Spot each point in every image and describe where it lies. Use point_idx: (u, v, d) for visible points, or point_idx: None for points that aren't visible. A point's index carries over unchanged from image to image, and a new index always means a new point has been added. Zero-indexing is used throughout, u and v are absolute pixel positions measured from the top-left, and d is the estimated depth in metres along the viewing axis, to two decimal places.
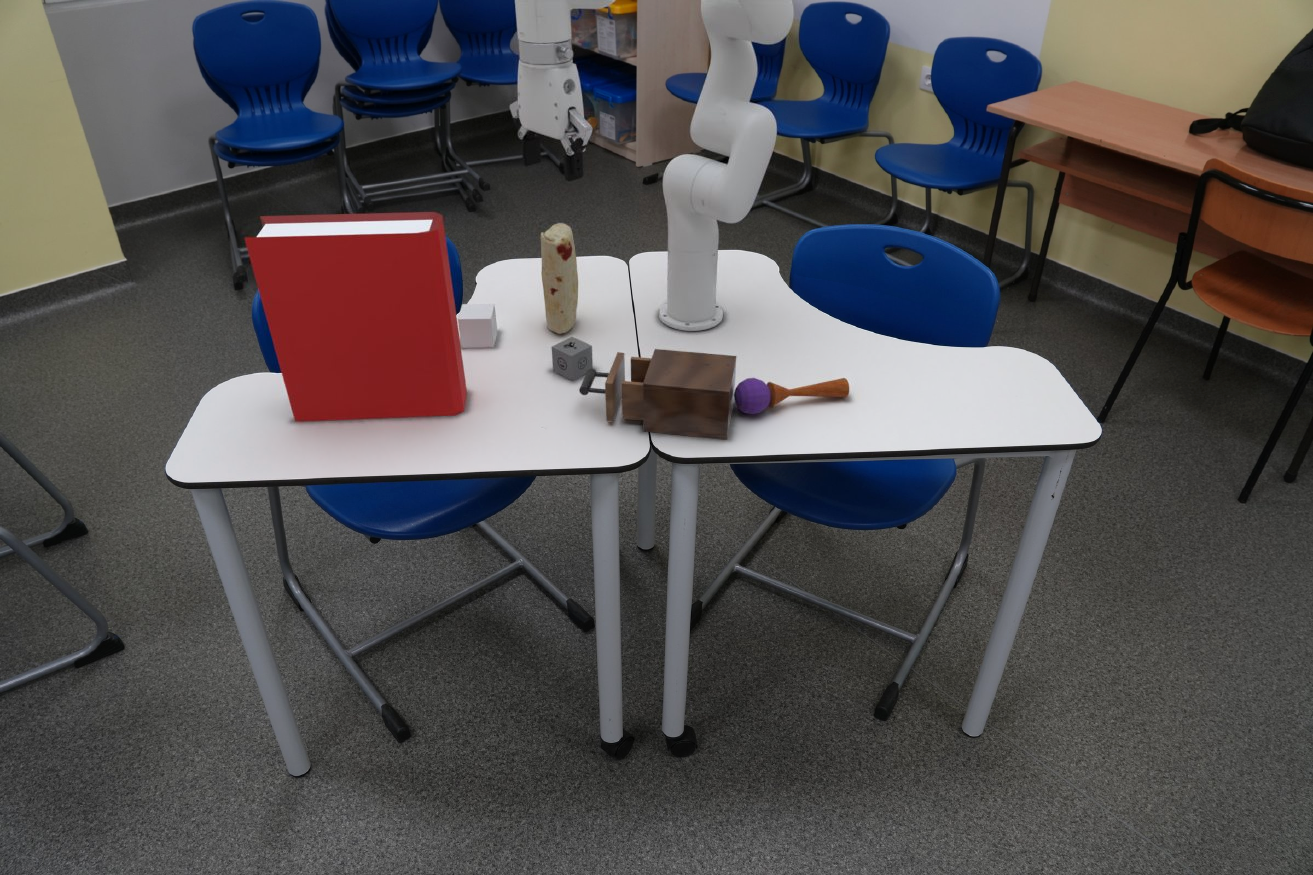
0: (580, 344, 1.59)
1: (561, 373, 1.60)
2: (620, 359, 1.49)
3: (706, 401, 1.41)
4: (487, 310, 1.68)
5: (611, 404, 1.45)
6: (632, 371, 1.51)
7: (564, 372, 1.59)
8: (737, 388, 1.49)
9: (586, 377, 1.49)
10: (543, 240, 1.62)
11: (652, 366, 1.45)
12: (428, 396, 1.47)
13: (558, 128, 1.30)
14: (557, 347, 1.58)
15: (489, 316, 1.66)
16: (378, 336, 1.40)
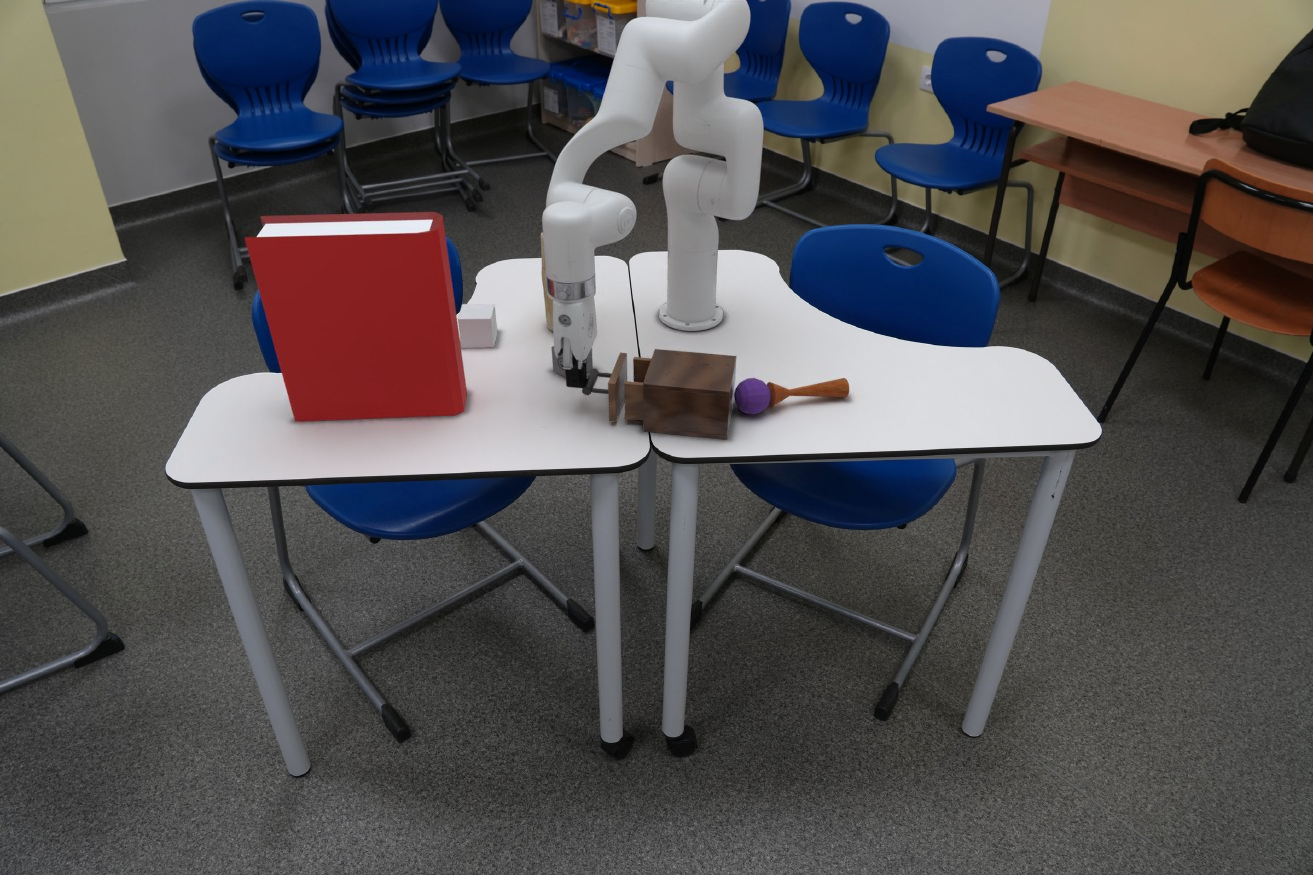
0: None
1: (561, 373, 1.60)
2: (623, 359, 1.49)
3: (706, 401, 1.41)
4: (487, 310, 1.68)
5: (614, 404, 1.45)
6: (635, 371, 1.51)
7: (564, 372, 1.59)
8: (737, 388, 1.49)
9: (589, 377, 1.49)
10: (543, 240, 1.62)
11: (652, 366, 1.45)
12: (428, 396, 1.47)
13: None
14: None
15: (489, 316, 1.66)
16: (378, 336, 1.40)
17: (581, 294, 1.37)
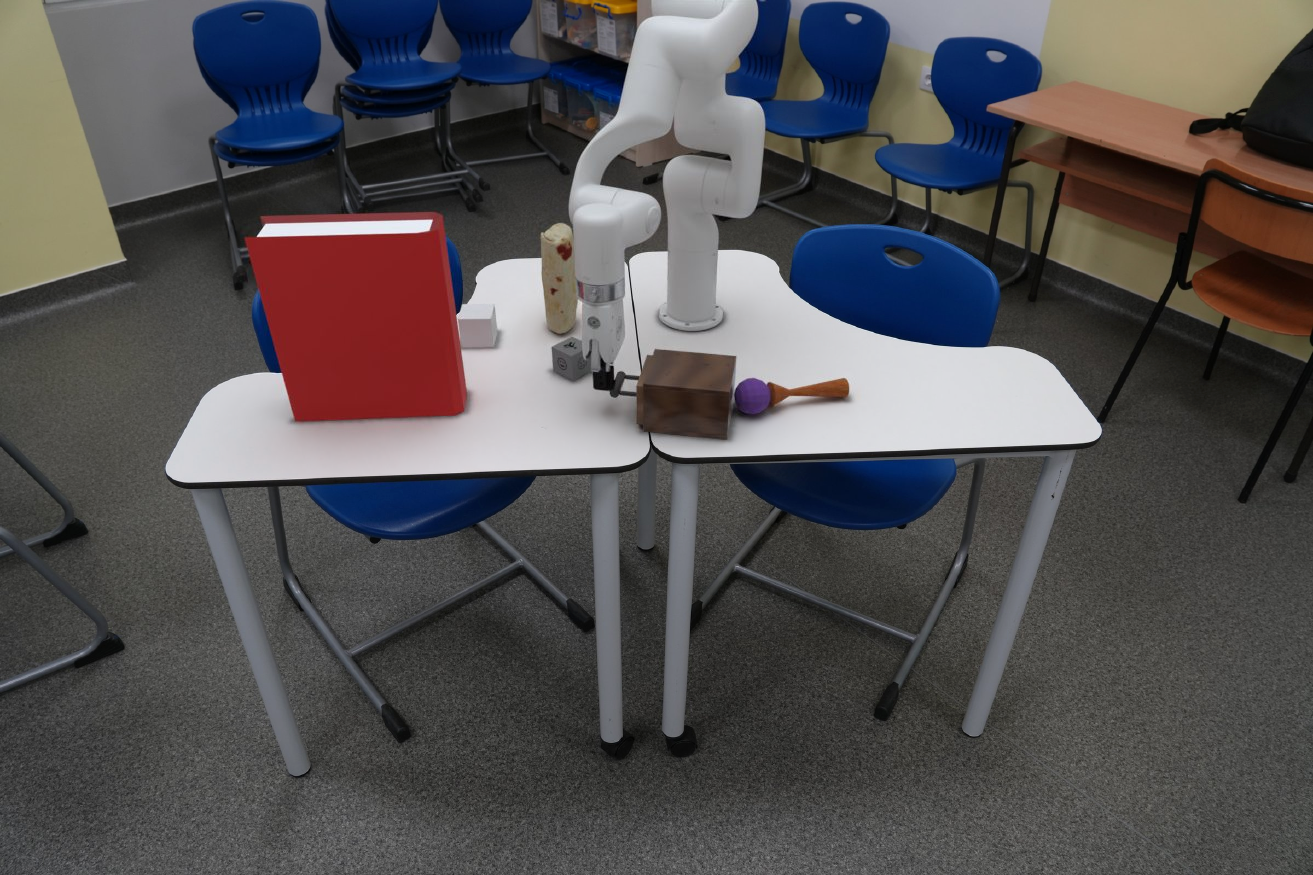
0: (580, 344, 1.59)
1: (561, 373, 1.60)
2: None
3: (706, 401, 1.41)
4: (487, 310, 1.68)
5: (642, 407, 1.44)
6: None
7: (564, 372, 1.59)
8: (737, 388, 1.49)
9: (616, 380, 1.48)
10: (543, 240, 1.62)
11: (652, 366, 1.45)
12: (428, 396, 1.47)
13: (583, 351, 1.41)
14: (557, 347, 1.58)
15: (489, 316, 1.66)
16: (378, 336, 1.40)
17: (610, 296, 1.36)
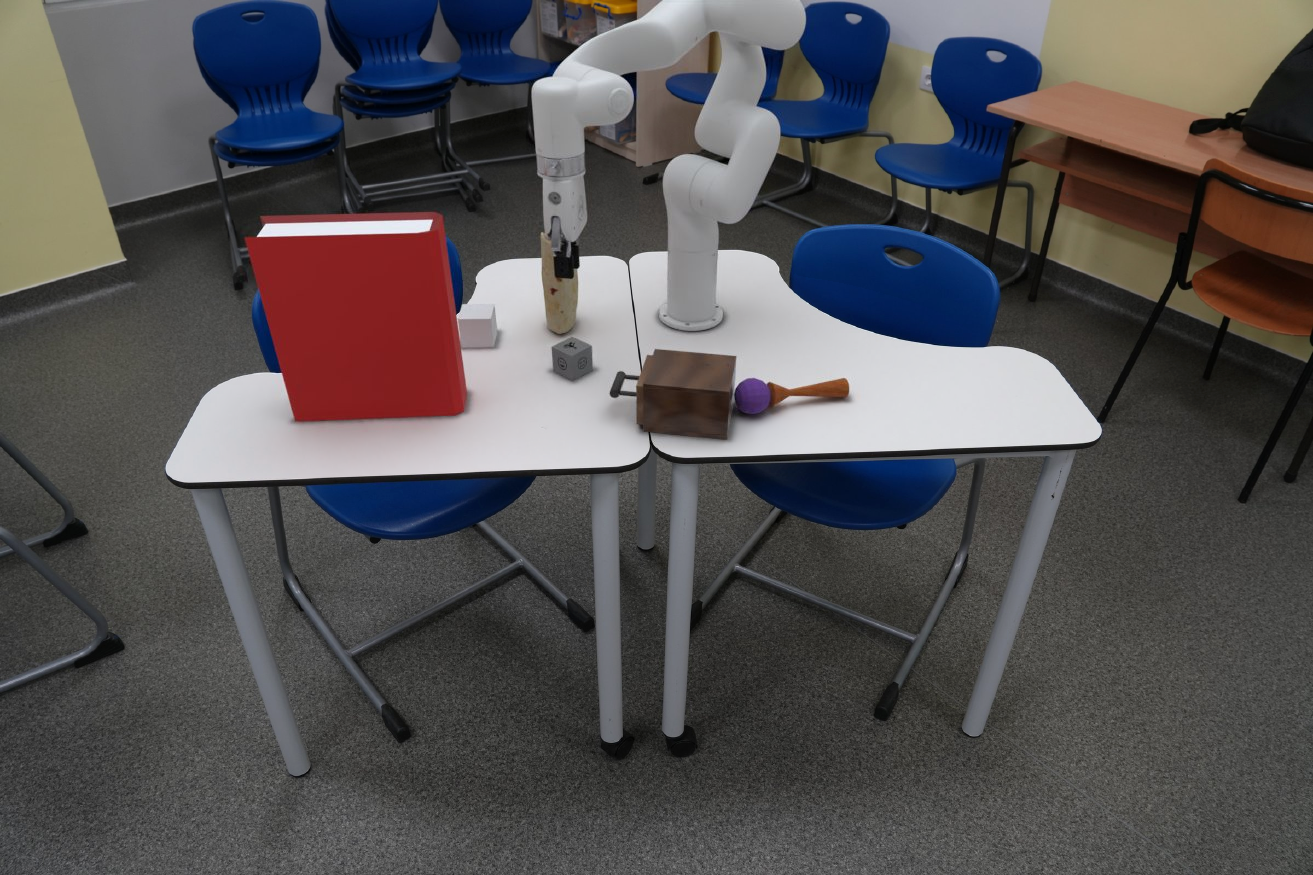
0: (580, 344, 1.59)
1: (561, 373, 1.60)
2: None
3: (706, 401, 1.41)
4: (487, 310, 1.68)
5: (642, 407, 1.44)
6: None
7: (564, 372, 1.59)
8: (737, 388, 1.49)
9: (616, 380, 1.48)
10: (543, 240, 1.62)
11: (652, 366, 1.45)
12: (428, 396, 1.47)
13: (545, 230, 1.42)
14: (557, 347, 1.58)
15: (489, 316, 1.66)
16: (378, 336, 1.40)
17: (571, 171, 1.38)
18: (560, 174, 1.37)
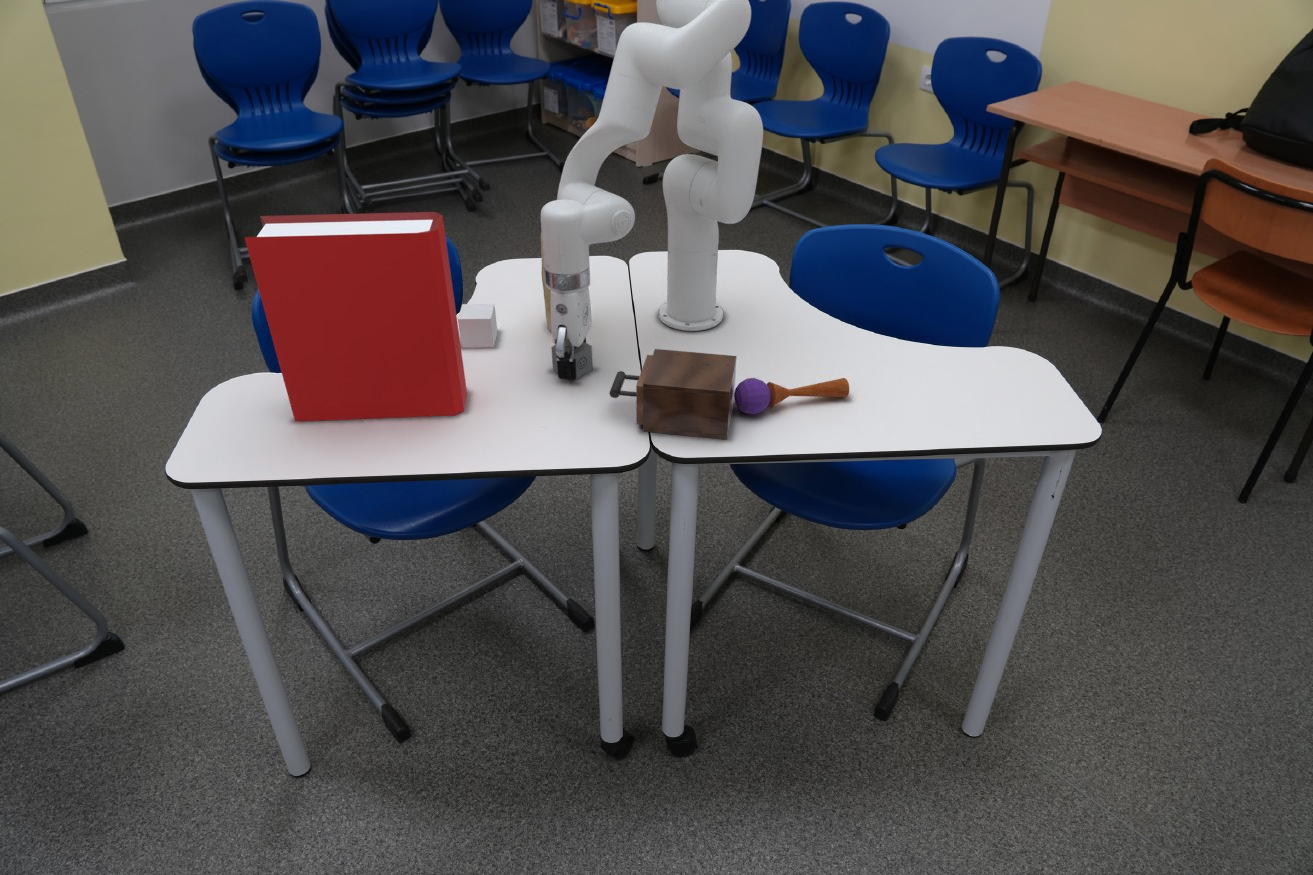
0: None
1: None
2: None
3: (706, 401, 1.41)
4: (487, 310, 1.68)
5: (642, 407, 1.44)
6: None
7: None
8: (737, 388, 1.49)
9: (616, 380, 1.48)
10: None
11: (652, 366, 1.45)
12: (428, 396, 1.47)
13: (552, 336, 1.53)
14: None
15: (489, 316, 1.66)
16: (378, 336, 1.40)
17: (576, 285, 1.48)
18: (567, 288, 1.48)
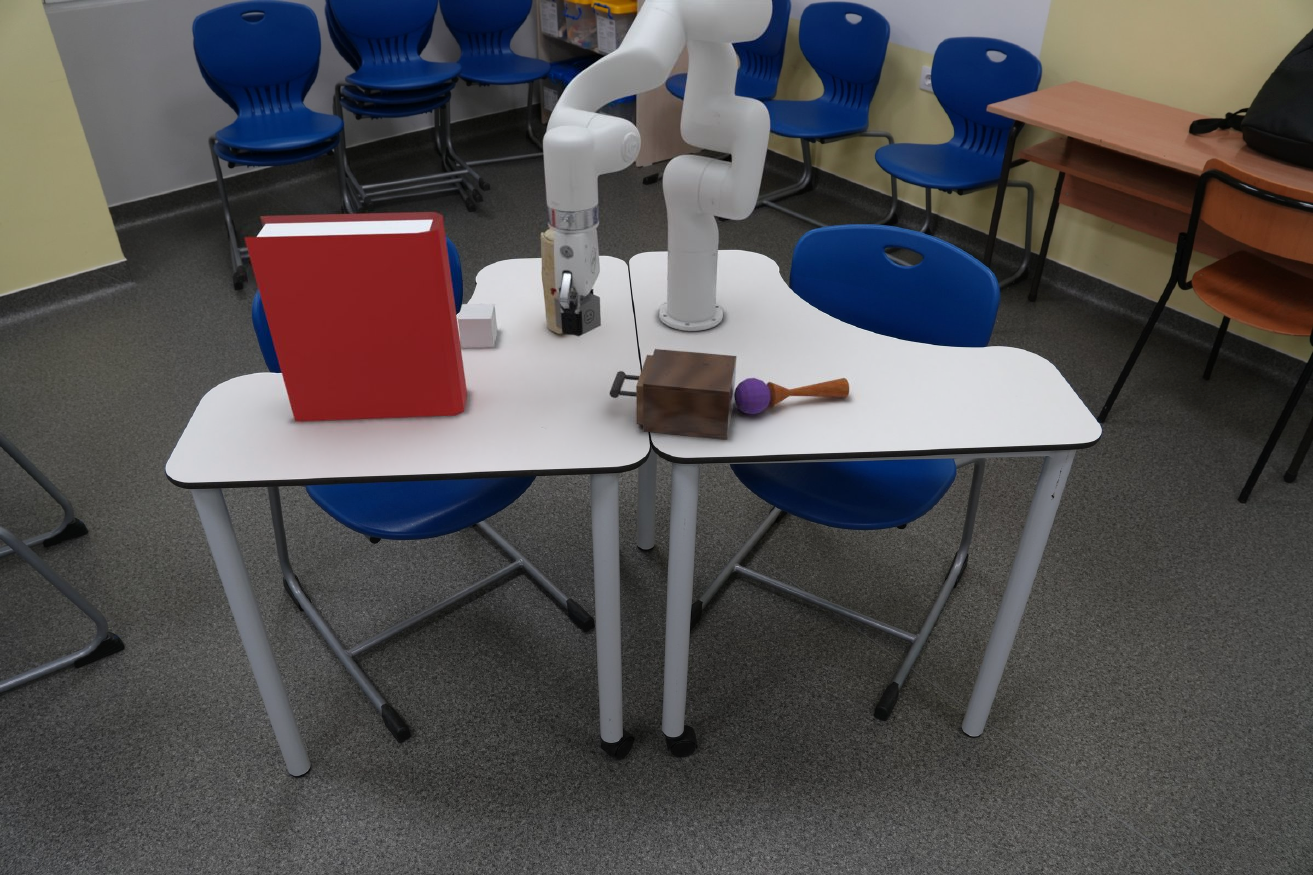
0: (587, 295, 1.42)
1: None
2: None
3: (706, 401, 1.41)
4: (487, 310, 1.68)
5: (642, 407, 1.44)
6: None
7: None
8: (737, 388, 1.49)
9: (616, 380, 1.48)
10: (543, 240, 1.62)
11: (652, 366, 1.45)
12: (428, 396, 1.47)
13: None
14: None
15: (489, 316, 1.66)
16: (378, 336, 1.40)
17: (584, 224, 1.31)
18: (572, 227, 1.30)
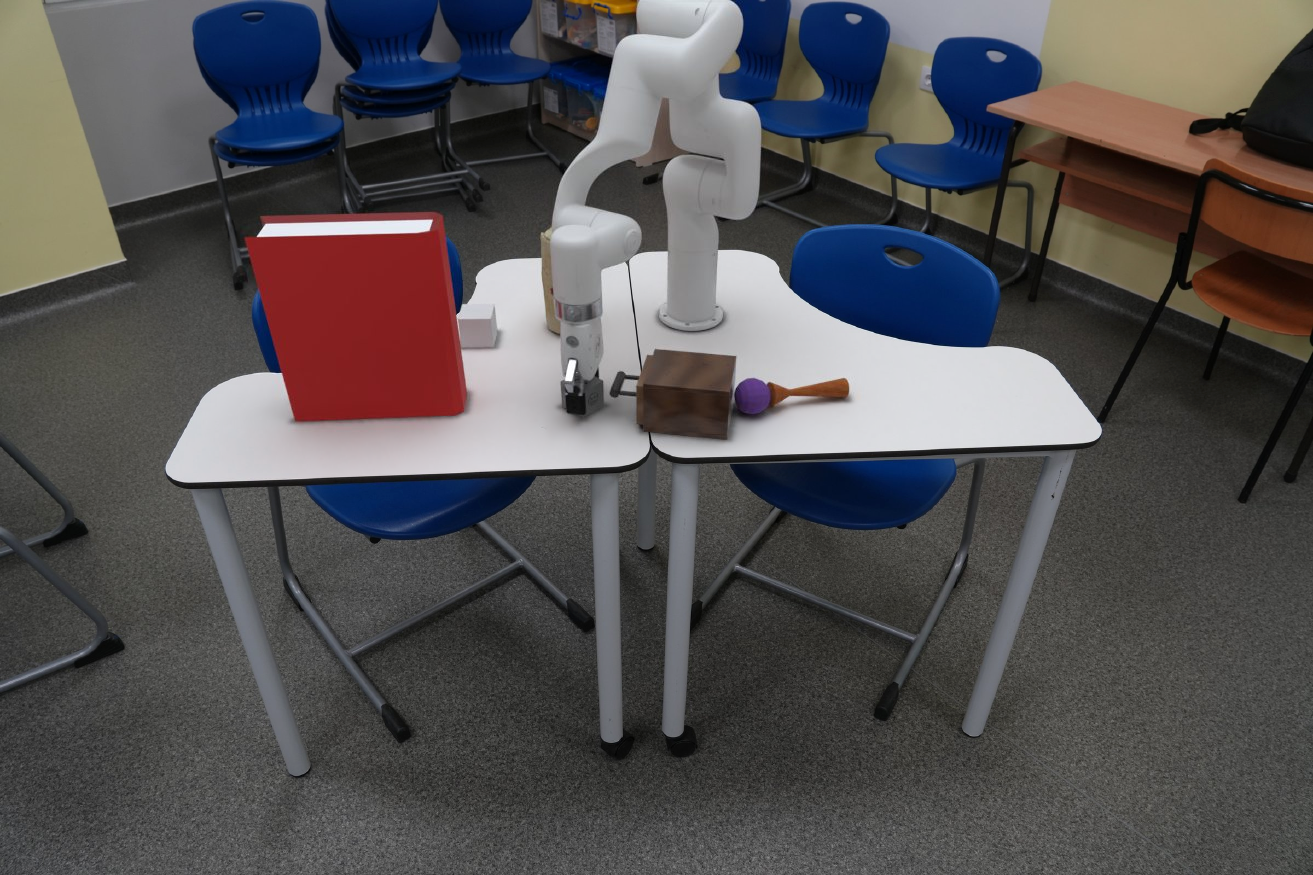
0: None
1: None
2: None
3: (706, 401, 1.41)
4: (487, 310, 1.68)
5: (642, 407, 1.44)
6: None
7: None
8: (737, 388, 1.49)
9: (616, 380, 1.48)
10: (543, 240, 1.62)
11: (652, 366, 1.45)
12: (428, 396, 1.47)
13: (562, 369, 1.44)
14: None
15: (489, 316, 1.66)
16: (378, 336, 1.40)
17: (588, 316, 1.39)
18: (578, 319, 1.39)
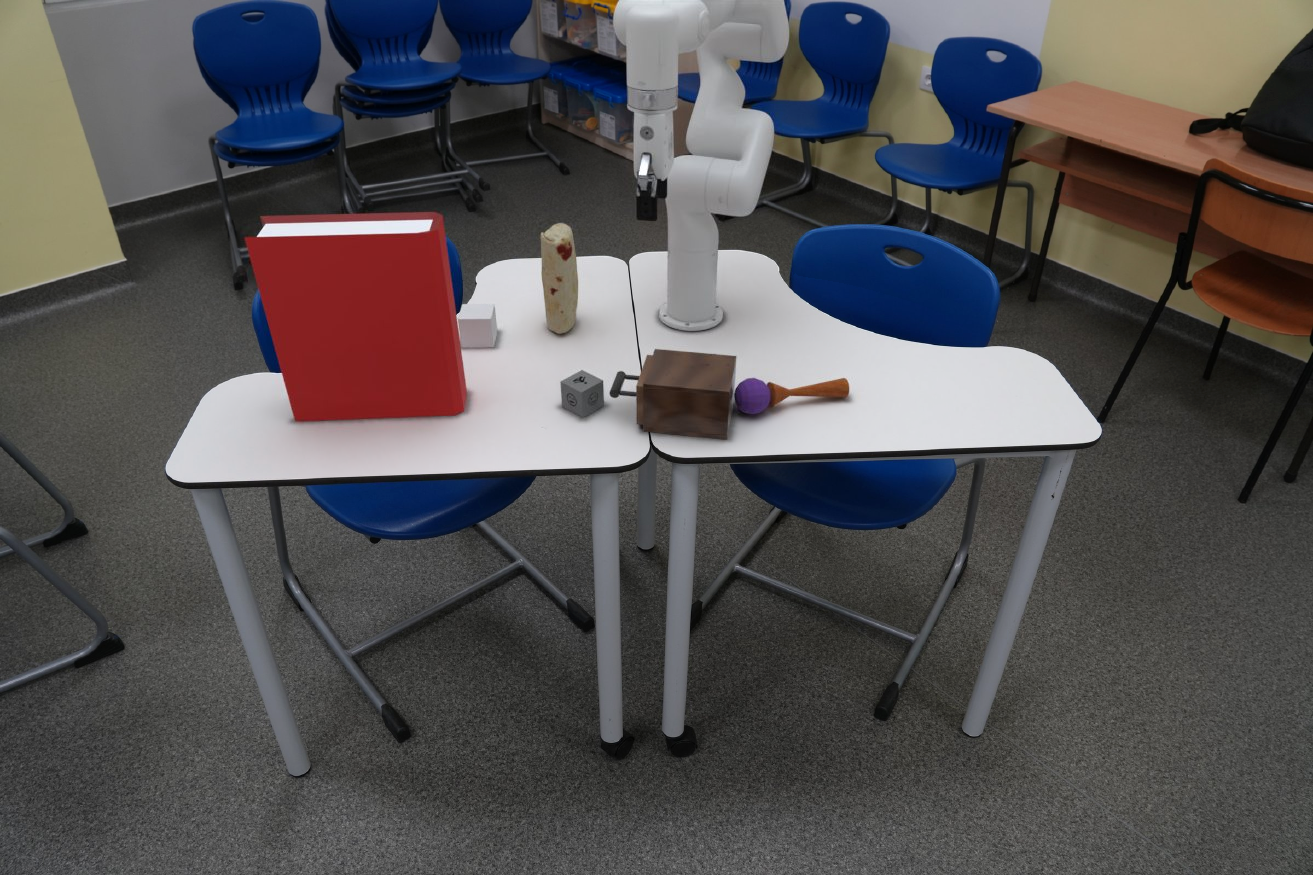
0: (591, 378, 1.50)
1: (570, 409, 1.51)
2: None
3: (706, 401, 1.41)
4: (487, 310, 1.68)
5: (642, 407, 1.44)
6: None
7: (574, 408, 1.50)
8: (737, 388, 1.48)
9: (616, 380, 1.48)
10: (543, 240, 1.62)
11: (652, 366, 1.45)
12: (428, 396, 1.47)
13: (634, 168, 1.36)
14: (566, 382, 1.49)
15: (489, 316, 1.66)
16: (378, 336, 1.40)
17: (664, 104, 1.31)
18: (653, 107, 1.31)
